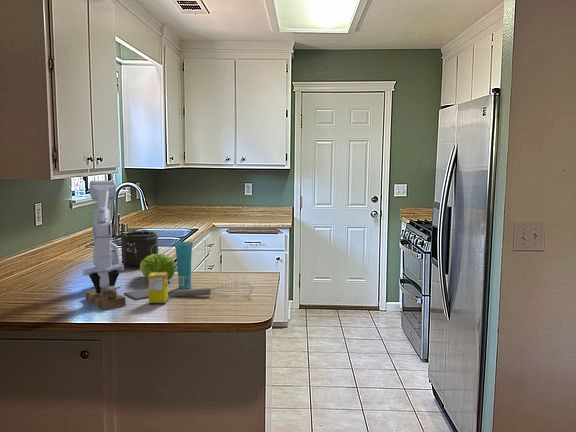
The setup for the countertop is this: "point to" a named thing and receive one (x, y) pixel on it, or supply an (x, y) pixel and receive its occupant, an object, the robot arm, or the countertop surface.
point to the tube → (184, 263)
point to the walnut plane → (106, 299)
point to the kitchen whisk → (203, 291)
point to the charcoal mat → (138, 294)
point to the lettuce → (158, 265)
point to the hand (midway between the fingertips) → (104, 291)
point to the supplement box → (158, 288)
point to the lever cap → (104, 289)
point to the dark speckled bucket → (138, 247)
